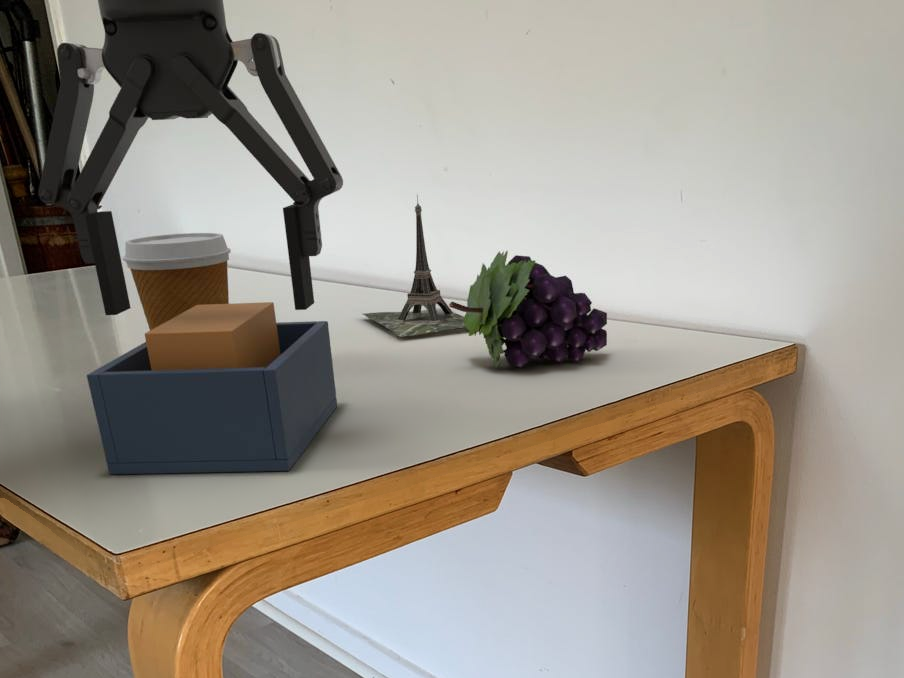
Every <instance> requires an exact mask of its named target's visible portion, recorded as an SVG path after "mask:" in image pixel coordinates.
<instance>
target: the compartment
mask: <svg viewBox="0 0 904 678" xmlns="http://www.w3.org/2000/svg"><path fill="white" fill-rule="evenodd" d="M276 324H277V332H278V339H279V346H280V353H281V355H280V356H279V357H278V358H277V359H275V360H274V361H273V362H272V363H271V364H270V365H269V366H268V367H266V368H265V367H258V368H224V369H190V370H156V371H152V369H151V364H150V359H149V354H148V349H147V344H146V341H145V342H143V343H140V344H139V345H137V346H135V347H134V348H132V349H130V350H128V351H127V352H125V353H124V354H121V355H119V356H118V357H116V358H114V359H112V360H111V361H109V362H107V363H106V364H103V365H102V366H101V367H99V368H97V369H95V370H93V371H91V372H89V373H88V374H87V375H86V379H87V383H88V388H89V391H90V396H91V400H92V404H93V410H94V415H95V418H96V422H97V426H98V431H99V435H100V441H101V443H102V448H103V453H104V457H105V461H106V464H107V469H108V473H109V475H147V474H148V475H151V474H152V475H153V474H154V475H155V474H157V475H158V474H199V473H200V474H201V473H204V474H206V473H249V472H250V473H251V472H255V473H256V472H289V471H290V470H291V469H292V468H293V467H294V465H295V463H297V461H298V460H299V458H300V457H301V455H302V454H303V453H304V451H305V450H306V449H307V447H308V446H309V445H310V443H311V442H312V441H313V440H314V438H315V436H316V435H317V434H318V433H319V431H320V429H321V428H322V427H323V426H324V424H325V423H326V422H327V420H328V419H329V418H330V416H331V415H332V414H333V413H334V411H335V410H336V408H337V407H338V399H337V390H336V382H335V372H334V365H333V356H332V348H331V347H332V346H331V339H330V338H331V337H330V330H329V322H328V320H318V321H317V320H315V321H286V322H285V321H284V322H276Z"/></svg>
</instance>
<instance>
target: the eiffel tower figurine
mask: <svg viewBox="0 0 904 678" xmlns="http://www.w3.org/2000/svg"><path fill="white" fill-rule="evenodd" d="M416 200H417V203H416V206H414V212H415V222H416V223H415V226H416V227H415V229H416V231H415V232H416V237H415V238H416V239H415V240H416V246H415V248H416V249H415V252H416V253H415V269H414V271H413V273H414V276H413V281H412V285H411V289H410V292H407V299H406V302H405V304H404V305H403V307H402V309H401V311H379V312H377V311H376V312H365V313H362V315H363V316H365V317H366V318H368V319H370V320H371V321H373V322H375V323H377V324H379V325H381V326H383V327H384V328H386V329H388V330H389V331H391V332H392V333H393V334H395V335H396V336H397V337H399V338H403V337H409V336H417V335H424V334H429V333H430V334H431V333H436V332H437V333H438V332H442V331H448V330H455V329H460V328H466V327H465V326H464V315H461V314H458V313H456V312H453V310H452V309H451V307H450V306H449V304H447V302H446V301H445V300H444V298H443V297H442V296H441V290H440V289H437V287H436V284H435V282H434V279H433V276H432V273H431V272H432V269H430V266H429V262H428V256H427V250H426V249H427V248H426V244H425V243H426V241H425V236H424V228H423V221H422V220H423V219H422V211H423V210H422V206H421V205H420V203H419V195H418V194H416ZM437 306H438V307H439V308H440V309H437ZM422 307H423V308H425V310H422ZM411 309H412V311H411Z"/></svg>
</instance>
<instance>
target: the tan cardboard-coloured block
mask: <svg viewBox="0 0 904 678" xmlns="http://www.w3.org/2000/svg"><path fill="white" fill-rule="evenodd" d="M276 323H277V318H276V312H275V304H274V302H273V301H269V302H268V301H267V302H239V303H229V304H207V305H196V306H194V307H192V308H190V309H189V310H187V311H185V312H183V313H181V314H180V315H178V316H176V317H174V318H172V319H170V320H169V321H167V322H165V323H163V324H161V325H160V326H158V327H156V328H154V329H152V330H150V329H149V331H147V332H145V333H144V338H145V342H146V344H147V349H148V354H149V359H150V364H151V369H152V371H156V370H190V369H224V368H258V367H265V368H266V367H268V366H269V365H270V364H271V363H272V362H273V361H274V360H275V359H277V358H278V357H279V356H280V355H281V353H280V346H279V339H278V332H277V324H276Z"/></svg>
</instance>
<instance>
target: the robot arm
mask: <svg viewBox="0 0 904 678" xmlns="http://www.w3.org/2000/svg"><path fill="white" fill-rule="evenodd" d="M97 4H98V9H99V13H100V18H101V22H102V25H103V30H104V41H103V46H102V48H99V47H98V48H97V47H87V45H83V44H80V43H79V44H78V43H71V42H61V43H60V44H59V45H58V46H57V48H56V55H57V64H58V65H57V66H58V73H59V81H60V83H59V89H58V94H57V98H56V103H55V108H54V112H53V120H52V124H51V128H50V131H49V138H48V142H47V147H46V151H45V152H46V153H45V158H44V160H43V161H44V162H43V166H42V172H41V177H40V181H39V186H38V187H39V188H38V192H37V193H38V197H39V200H40V201H41V202H42V203H43V204H45V205H53V206H56V207H58V208H62V209H64V210H66V211H67V212H69V214H70V216H71V217H72V221H73V226H74V229H75V230H74V231H75V235H76V240H77V244H78V248H79V249H78V250H79V254H80V257H81V259H82V260H83V262H84V264H85V265H88V264H94V267H95V271H96V275H97V276H96V277H97V281H98V285H99V289H100V294H101V300H102V305H103V309H104V315H105V316H117V315H119V314H121V313H124V312H125V311H128V310H130V309H131V308H132V307H131V303H130V298H129V292H128V287H127V283H126V278H125V277H126V276H125V272H124V268H123V262H122V257H121V252H120V246H119V243H118V238H117V237H118V236H117V232H116V227H115V222H114V217H113V212H112V210H105V211H98V210H100V209H102V207H103V205H100V204H101V202H102V200H103V198H104V196H105V195H106V193H107V190H108V189H109V187H110V186H111V184H112V182H113V180H114V178H115V176H116V175H117V172H118V170H119V168H120V166H121V165H122V163H123V162H124V159H125V157H126V155H127V153H128V152H129V150H130V148H131V146H132V145H133V143H134V140H135V139H136V136H137V135H138V133H139V131H140V129H142V128H143V127H144V125H145V124H146V123H147V121H148V119H151V121H164V120H165V121H167V120H176V119H178V118H183V119H208V118H209V116H211V115H213V116H214V118H216V120H218V121H219V122H220V123H221V124H223V125H224V126H225V127H226V128H227V129H228V130H229V131H230V133H232V135H234V137H235V138H236V139H237V140H238V141H239V142H240V143H241V144H242V145H243V147H244V148H245V149H246V150H247V151H248V152H249V154H251V155H252V157H254V159H255V160H256V161H257V162H258V163H259V165H261V167H262V168H263V169H264V170H265V171H266V172H267V173H268V174H269V175H270V176H271V177H272V179H274V181H275V182H276V183H277V184H278V185H279V186H280V187H281V189H283V191H284V192H285V193H286V194H287V195H288V196H289V197H290V199H292V201H293V203H292V204H290V205H287V206H284V207H282V213H283V214H282V215H283V221H284V229H285V237H286V243H287V244H286V245H287V246H286V247H287V255H288V261H289V263H288V264H289V270H290V279H291V286H292V295H293V302H294V303H293V305H294V310H295V311H306V310H307V309H309V308H310V307H311V306H313V305H314V304H315V297H314V295H315V294H314V286H313V279H312V270H311V261H310V257H317V256H318V255H320V254H321V251H322V248H323V241H322V231H321V222H320V221H321V220H320V211H319V206H320V202H321V201H322V200H323V199H324V198H325V197H327V196H330V195H332V194H334V193H336V192H338V191H340V190H341V189H342V188H343V186H344V179H343V176H342V174H341V172H340V171H339V169H338V167H337V165H336V164H335V162H334V160H333V158H332V156H331V155H330V152H329V151H328V149H327V147H326V145H325V144H324V142H323V139H322V138H321V136H320V134H319V133H318V130H317V129H316V127H315V125H314V124H313V121H312V120H311V118H310V116H309V115H308V112H307V111H306V109H305V107H304V105H303V104H302V102H301V100H300V98H299V97H298V94H297V92H296V91H295V89H294V87H293V86H292V84H291V82H290V80H289V78H288V76H287V74H286V71H285V65H284V61H283V57H282V56H283V55H282V52H281V47H280V43H279V40H278V39H277V38H276V37H275V36H273V35H270V34H267V33H262V32H256V33H254V34H253V35H252V37H251V38H247V39H241V40H236V41H233V39H232V38H231V36H230V34H229V31H228V28H227V22H226V20H227V19H226V13H225V4H224V0H97ZM239 62H240V63H242V64H243V65H244V66H245V69H246V70H247V72H248V73H249V74H250V75H251V76H252V77H258V79H259V83H260V85H261V87H262V89H263V90H264V93H265V94H266V96H267V98H268V99H269V101H270V104H271V105H272V107H273V108H274V110H275V113H276V114H277V116H278V118H279V119H280V121H281V123H282V124H283V126H284V128H285V130H286V132H287V134H288V135H289V137H290V139H291V141H292V143H293V144H294V146H295V148H296V150H297V151H298V153H299V155H300V157H301V159H302V161H303V162H304V164H305V166H306V168H307V169H308V171H309V173H310V175H311V176H312V179H309V177H308V176H307V175H305V173H304V172H303V171H302V170H301V169H300V168H299V166H298V165H297V164H296V163H295V162H294V161H293V159H291V157H290V156H289V155H288V154H287V153H286V152H285V151H284V150H283V148H282V147H281V146H280V145H279V144H278V143H277V142H276V141H275V139H274V138H273V137H272V136H271V135H270V134H269V133H268V131H267V130H266V129H265V128H264V127H263V126H262V124H260V123H259V121H258V120H257V119H256V118H255V117H254V116H253V115H252V114H251V112H250V111H249V110H248V107H247V106H246V105H245V103H244V102H243V101H242V100H241V99H240V98H239V97H238V96H237V94H236V93H235V92H234V91H233V90H232V89H231V87H230V86H229V83H230V81H231V80H232V77H233V75H234V72H235V71H236V68H237V66H238V63H239ZM104 69H105V70H106V71H107V73H108V74H109V75H110V76H111V78H112V79H113V80H114V81H115V82H116V84H117V85H118V87H119V88H120V89H119V91H118V93H117V95H116V97H115V99H114V101H113V103H112V105H111V107H110V109H109V112H108V115H109V117H108V119H107V121H106V122H105V124H104V127H103V128H102V130H101V132H100V134H99V136H98V138H97V140H96V142H95V144H94V146H93V148H92V150H91V151H90V153H89V155H88V158H87V160H86V161H85V163H84V165H83V167H82V169H81V170H80V173H79V175H78V177H77V173H78V168H79V163H80V159H81V154H82V149H83V145H84V142H85V141H84V140H85V137H86V131H87V127H88V124H89V118H90V113H91V109H92V105H93V101H94V100H93V99H94V94H95V85H97V84H99V82H100V81H101V80H102V79H101V78H102V72H103V71H104ZM76 177H77V179H76Z"/></svg>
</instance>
